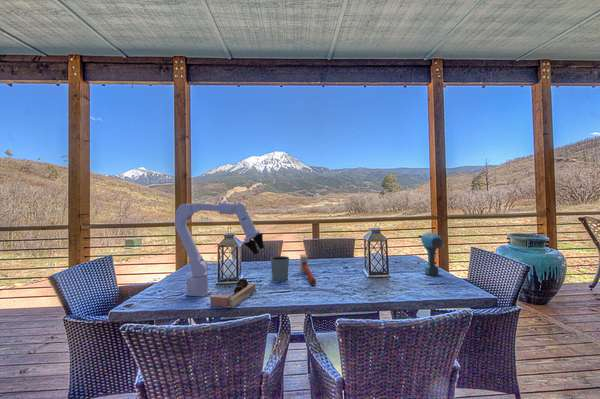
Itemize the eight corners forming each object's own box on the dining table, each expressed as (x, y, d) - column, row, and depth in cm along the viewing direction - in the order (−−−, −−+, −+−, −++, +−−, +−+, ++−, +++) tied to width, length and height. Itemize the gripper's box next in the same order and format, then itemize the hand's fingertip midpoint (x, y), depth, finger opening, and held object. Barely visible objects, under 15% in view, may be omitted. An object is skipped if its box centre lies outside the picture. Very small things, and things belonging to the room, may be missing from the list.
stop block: (210, 306, 130) (210, 296, 130) (214, 303, 133) (214, 294, 133) (227, 307, 128) (227, 298, 128) (231, 304, 131) (230, 295, 131)
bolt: (236, 302, 140) (241, 290, 155) (245, 296, 140) (250, 285, 154) (229, 291, 139) (235, 281, 154) (238, 285, 139) (244, 276, 154)
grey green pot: (267, 279, 169) (267, 257, 169) (281, 275, 176) (281, 255, 176) (278, 283, 161) (278, 260, 161) (293, 279, 168) (292, 257, 168)
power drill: (412, 266, 190) (411, 229, 189) (426, 266, 189) (425, 229, 189) (430, 279, 162) (429, 235, 161) (447, 278, 161) (446, 235, 161)
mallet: (316, 273, 155) (305, 253, 184) (310, 274, 154) (300, 254, 184) (316, 293, 157) (305, 270, 186) (309, 293, 156) (300, 270, 185)
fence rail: (228, 307, 128) (228, 299, 128) (251, 290, 150) (251, 283, 150) (232, 307, 127) (232, 299, 127) (255, 290, 149) (255, 283, 149)
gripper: (248, 227, 142) (260, 253, 143) (260, 219, 155) (271, 243, 156) (236, 232, 144) (248, 258, 145) (248, 224, 157) (259, 248, 158)
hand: (259, 251), depth 151 cm, fingers open, 7 cm apart
